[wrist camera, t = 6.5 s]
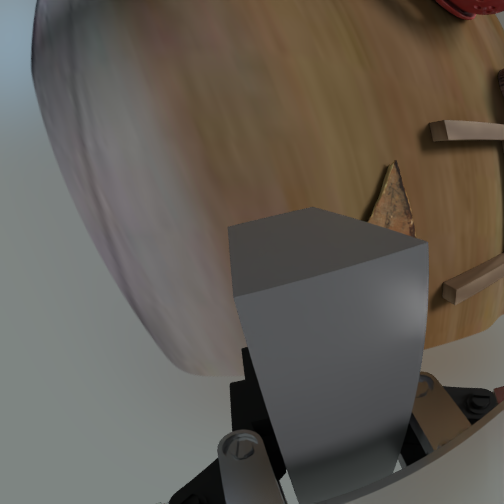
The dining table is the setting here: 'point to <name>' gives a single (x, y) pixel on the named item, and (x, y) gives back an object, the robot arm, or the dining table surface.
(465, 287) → the walnut frame
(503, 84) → the cupcake
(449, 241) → the dining table surface
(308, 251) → the block
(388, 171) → the shard
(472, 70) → the dining table surface
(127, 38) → the dining table surface
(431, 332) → the dining table surface
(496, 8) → the plant pot
